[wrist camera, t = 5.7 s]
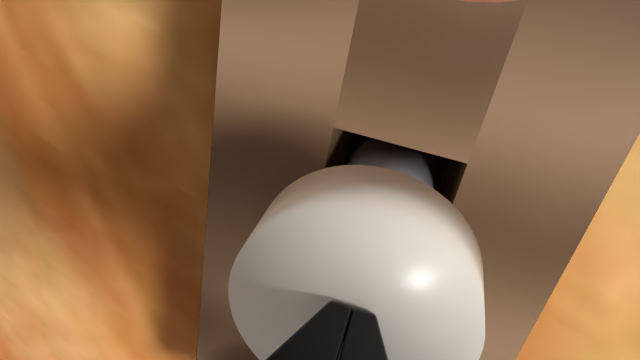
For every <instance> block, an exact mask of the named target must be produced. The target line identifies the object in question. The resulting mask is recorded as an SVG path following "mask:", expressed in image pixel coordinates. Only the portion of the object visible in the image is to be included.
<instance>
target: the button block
mask: <svg viewBox="0 0 640 360" xmlns="http://www.w3.org/2000/svg"><path fill="white" fill-rule="evenodd" d="M351 132H352V133H356V134H359V135H363V136H367V137H371V138H374V139H378V140H382V141H385V142H389V143H393V144H397V145H400V146H404V147H408V148H411V149H415V150H419V151H423V152H426V153H430V154H434V155H437V156H441V157H445V158H449V160H448V163H447V166H446V169H445V172H444V175H443V178H442V181H441V184H440V186H439V189H438V192H439V193H440V194H441V195H442V196H444V197H445V198H446V199H447V200H449V201H450V202H451V203H452V204H453V205H454V206H455V207H456V209H457V210H458V211H459V212H460V213H461V214H462V215H463V217H464V218H465V220H466V221H467V222H468V224H469V225H470V227H471V229H472V231H473V233H474V235H475V237H476V239H477V242H478V245H479V248H480V251H481V256H482V262H483V280H484V305H485V341H484V346H483V351H482V353H481V356H480V359H479V360H515V359H516V357H517V356H518V354H519V352H520V350H521V348H522V346H523V345H524V343H525V341H526V339H527V337H528V335H529V334H530V332H531V330H532V328H533V326H534V325H535V323H536V321H537V319H538V317H539V315H540V314H541V312H542V310H543V308H544V306H545V305H546V303H547V301H548V299H549V297H550V295H551V294H552V292H553V290H554V288H555V286H556V284H557V283H558V281H559V279H560V277H561V275H562V274H563V272H564V270H565V268H566V266H567V264H568V263H569V261H570V259H571V257H572V255H573V253H574V252H575V250H576V248H577V246H578V244H579V243H580V241H581V239H582V237H583V235H584V233H585V232H586V230H587V228H588V226H589V224H590V222H591V221H592V219H593V217H594V215H595V213H596V212H597V210H598V208H599V206H600V204H601V202H602V201H603V199H604V197H605V195H606V193H607V191H608V190H609V188H610V186H611V184H612V182H613V181H614V179H615V177H616V175H617V173H618V171H619V170H620V168H621V166H622V164H623V162H624V161H625V159H626V157H627V155H628V153H629V151H630V150H631V148H632V146H633V144H634V142H635V140H636V139H637V137H638V135H639V133H640V0H516V1H507V2H467V1H460V0H222V7H221V21H220V35H219V49H218V63H217V77H216V91H215V105H214V119H213V133H212V147H211V161H210V176H209V190H208V204H207V218H206V232H205V246H204V260H203V274H202V288H201V302H200V316H199V330H198V344H197V358H196V360H259V359H258V357H257V356H256V355H255V354H254V353H253V352H252V350H251V349H250V348H249V347H248V345H247V344H246V343H245V341H244V339H243V337H242V336H241V334H240V332H239V331H238V328H237V326H236V324H235V321H234V319H233V316H232V312H231V309H230V303H229V296H228V288H229V278H230V273H231V269H232V266H233V264H234V261H235V259H236V257H237V255H238V254H239V252H240V250H241V249H242V247H243V246H244V244H245V243H246V241H247V239H248V238H249V236H250V235H251V233H252V232H253V230H254V229H255V227H256V226H257V224H258V223H259V221H260V220H261V218H262V217H263V215H264V214H265V212H266V210H267V209H268V207H269V206H270V204H271V203H272V201H273V200H274V199H275V198H276V197H277V196H278V194H279V193H280V192H281V191H283V190H284V189H285V188H286V187H287V186H288V185H290V184H291V183H293V182H294V181H296V180H298V179H299V178H301V177H303V176H305V175H307V174H310V173H312V172H314V171H318V170H321V169H325V168H328V167H335V166H342V165H343V164H344V160H345V155H346V151H347V146H348V142H349V137H350V133H351Z"/></svg>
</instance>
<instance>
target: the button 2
mask: <svg viewBox="0 0 640 360" xmlns="http://www.w3.org/2000/svg"><path fill="white" fill-rule="evenodd" d="M435 181H436V173H435V168H434V165H433V162H432V161H431V159H430V157H429V156H428V154H427V153H426V152H423V151H419V150H415V149H411V148H408V147H404V146H400V145H397V144H393V143H389V142H385V141H382V140H378V139H374V138H372V139H369V140H367V141H365V142H364V143H362V144H361V145H360V146H359V147H358V148H357V149H356V150H355V151H354V152H353V154H352V155H351V157H350V159H349V161H348V164H347V165H342V166H335V167H328V168H325V169H321V170H318V171H314V172H312V173H310V174H307V175H305V176H303V177H301V178H299V179H298V180H296V181H294V182H293V183H291V184H290V185H288V186H287V187H286V188H285V189H284V190H283V191H281V192H280V193H279V194H278V196H277V197H276V198H275V199H274V200H273V201H272V203H271V204H270V206H269V207H268V209H267V210H266V212H265V214H264V215H263V217H262V218H261V220H260V221H259V223H258V224H257V226H256V227H255V229H254V230H253V232H252V233H251V235H250V236H249V238H248V239H247V241H246V243H245V244H244V246H243V247H242V249H241V250H240V252H239V254H238V255H237V257H236V259H235V261H234V264H233V266H232V269H231V273H230V278H229V288H228V296H229V303H230V309H231V312H232V316H233V319H234V321H235V324H236V326H237V328H238V331H239V332H240V334H241V336H242V337H243V339H244V341H245V343H246V344H247V345H248V347H249V348H250V349H251V350H252V352H253V353H254V354H255V355H256V356H257V357H258V359H259V360H266V359H267V358H268V357H269V356H270V355H271V354H272V353H273V352H274V351H275V350H277V349H278V348H279V347H280V346H281V345H282V344H283V343H284V342H285V341H286V340H287V339H289V338H290V337H291V336H292V335H293V334H294V333H295V332H296V331H297V330H298V329H300V328H301V327H302V326H303V325H304V324H305V323H306V322H307V321H308V320H309V319H310V318H312V317H313V316H314V315H315V314H316V313H317V312H318V311H319V310H320V309H321V308H322V307H324V306H325V305H326V304H327V303H328V302H330V301H336V302H340V303H343V304H346V305H349V306H351V308H352V311H353V309H354V308H359V309H362V310H365V311H368V312H371V313H374V314H375V315H376V317H377V320H378V324H379V327H380V331H381V335H382V338H383V342H384V346H385V349H386V353H387V357H388V360H479V359H480V356H481V353H482V351H483V346H484V341H485V305H484V280H483V262H482V256H481V251H480V248H479V245H478V242H477V239H476V237H475V235H474V233H473V231H472V229H471V227H470V225H469V224H468V222H467V221H466V220H465V218H464V217H463V215H462V214H461V213H460V212H459V211H458V210H457V209H456V207H455V206H454V205H453V204H452V203H451V202H450V201H449V200H447V199H446V198H445V197H444V196H442V195H441V194H440V193H439V192H437V191H436V190H435ZM351 314H352V313H351ZM350 317H351V316H350ZM349 321H350V320H349ZM348 324H349V323H348ZM347 328H348V327H347ZM346 331H347V330H346ZM345 335H346V334H345ZM344 338H345V337H344ZM343 342H344V341H343ZM342 345H343V344H342ZM341 349H342V348H341ZM340 352H341V351H340ZM339 356H340V355H339ZM338 359H339V358H338Z"/></svg>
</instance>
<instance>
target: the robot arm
mask: <svg viewBox="0 0 640 360" xmlns="http://www.w3.org/2000/svg"><path fill="white" fill-rule="evenodd" d="M351 313H352V314H351ZM350 316H351V317H350ZM349 320H350V321H349ZM348 323H349V324H348ZM347 327H348V328H347ZM346 330H347V331H346ZM345 334H346V335H345ZM344 337H345V338H344ZM343 341H344V342H343ZM342 344H343V345H342ZM341 348H342V349H341ZM340 351H341V352H340ZM339 355H340V356H339ZM338 358H339V359H338ZM266 360H388V357H387V353H386V349H385V346H384V342H383V338H382V335H381V331H380V327H379V324H378V320H377V317H376V315H375V314H374V313H371V312H368V311H365V310H362V309H359V308H354V309H353V311H352V308H351V306H349V305H346V304H343V303H340V302H336V301H330V302H328V303H327V304H326V305H325V306H324V307H322V308H321V309H320V310H319V311H318V312H317V313H316V314H315V315H314V316H313V317H312V318H310V319H309V320H308V321H307V322H306V323H305V324H304V325H303V326H302V327H301V328H300V329H298V330H297V331H296V332H295V333H294V334H293V335H292V336H291V337H290V338H289V339H287V340H286V341H285V342H284V343H283V344H282V345H281V346H280V347H279V348H278V349H277V350H275V351H274V352H273V353H272V354H271V355H270V356H269V357H268V358H267V359H266Z"/></svg>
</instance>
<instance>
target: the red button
mask: <svg viewBox="0 0 640 360" xmlns="http://www.w3.org/2000/svg"><path fill="white" fill-rule="evenodd" d="M460 1H467V2H507V1H516V0H460Z"/></svg>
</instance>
